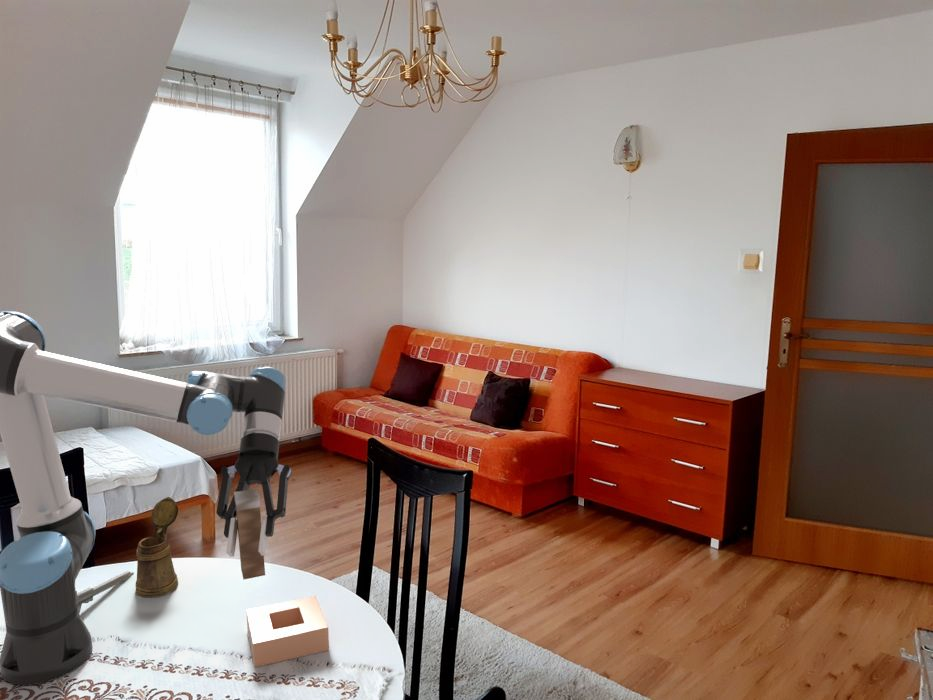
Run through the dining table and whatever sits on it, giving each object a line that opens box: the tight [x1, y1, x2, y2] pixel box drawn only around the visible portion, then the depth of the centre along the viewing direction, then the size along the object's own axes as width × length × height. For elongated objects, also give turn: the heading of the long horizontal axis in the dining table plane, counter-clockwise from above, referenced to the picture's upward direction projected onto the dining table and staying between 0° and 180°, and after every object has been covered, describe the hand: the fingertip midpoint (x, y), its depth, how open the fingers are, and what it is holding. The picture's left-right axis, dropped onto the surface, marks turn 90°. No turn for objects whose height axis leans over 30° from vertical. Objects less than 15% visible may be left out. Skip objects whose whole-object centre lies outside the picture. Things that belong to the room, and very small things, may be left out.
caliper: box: [76, 570, 135, 615], centre depth 156 cm, size 20×1×6 cm, turn 169°
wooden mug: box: [134, 496, 179, 599], centre depth 161 cm, size 9×14×18 cm, turn 177°
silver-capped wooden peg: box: [233, 488, 266, 580], centre depth 135 cm, size 4×4×16 cm
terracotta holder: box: [245, 595, 330, 668], centre depth 141 cm, size 14×12×5 cm
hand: (246, 553), depth 131 cm, fingers closed on silver-capped wooden peg, 5 cm apart
